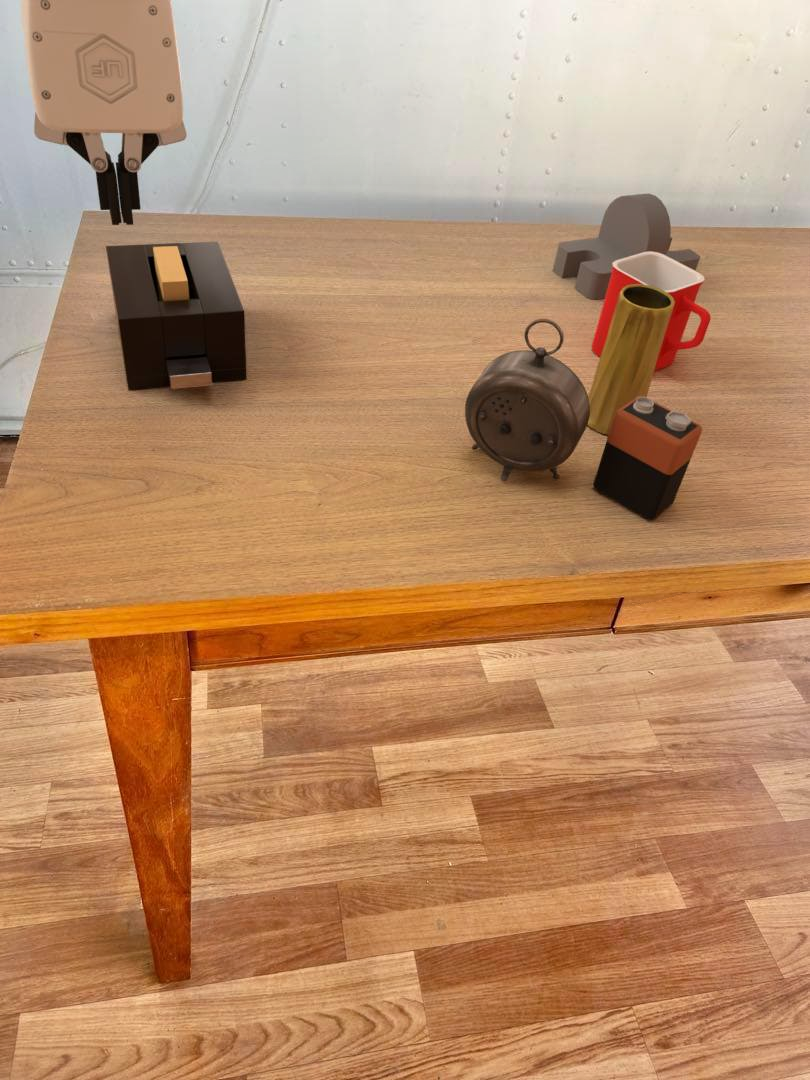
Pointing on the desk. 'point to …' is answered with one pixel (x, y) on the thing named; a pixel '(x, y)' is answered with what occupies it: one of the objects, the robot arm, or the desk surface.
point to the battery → (646, 456)
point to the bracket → (619, 243)
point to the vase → (629, 352)
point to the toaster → (177, 314)
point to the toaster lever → (189, 372)
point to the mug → (669, 279)
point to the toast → (170, 274)
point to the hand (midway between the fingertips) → (121, 217)
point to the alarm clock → (527, 410)
